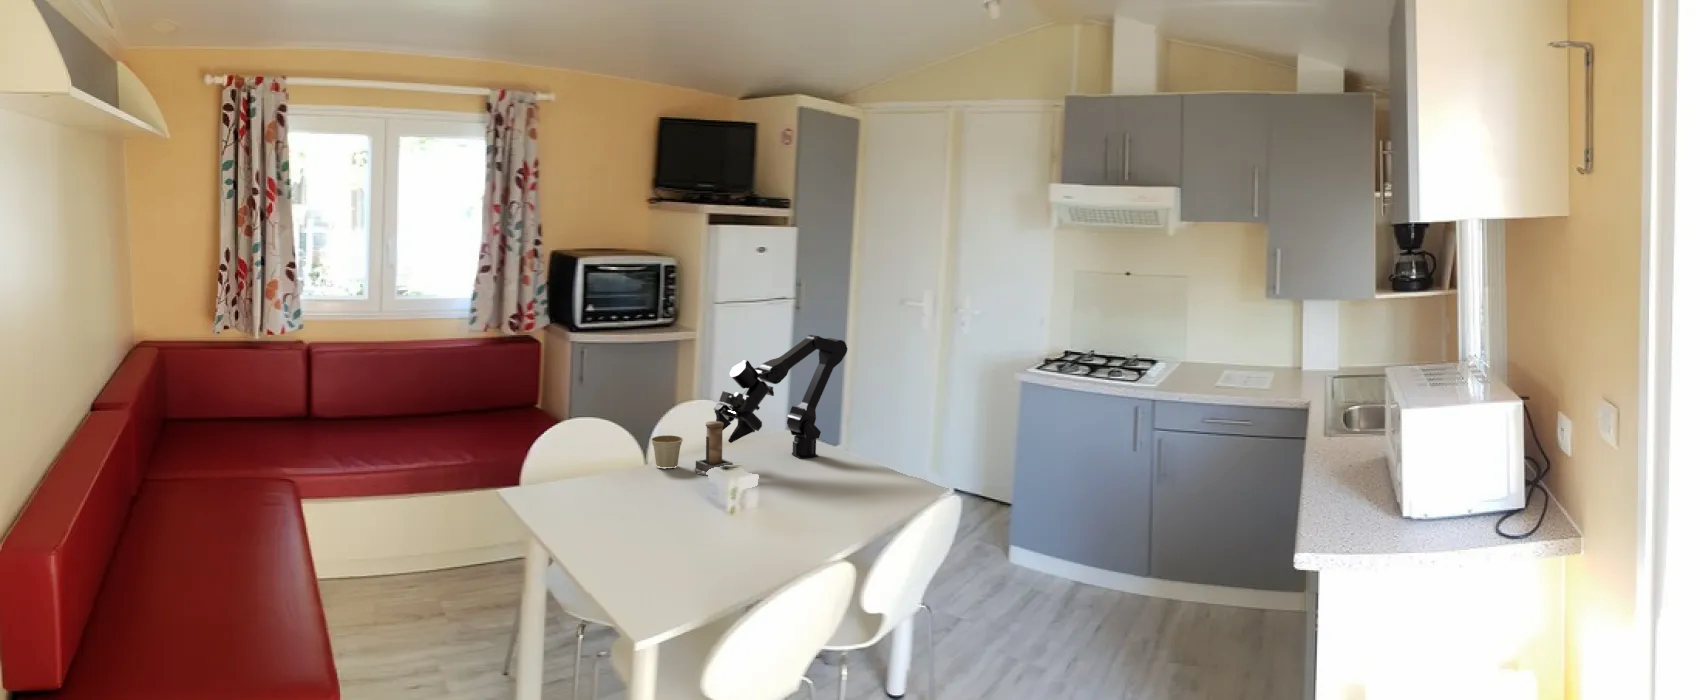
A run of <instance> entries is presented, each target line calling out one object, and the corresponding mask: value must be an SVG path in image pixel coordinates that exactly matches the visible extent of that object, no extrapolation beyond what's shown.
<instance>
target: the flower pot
mask: <svg viewBox="0 0 1700 700" xmlns="http://www.w3.org/2000/svg"><path fill="white" fill-rule="evenodd" d="M650 441H651V442H652V446H653V450H654V451H653V452H654V457H655V465H657V466H660V467H675V466H677V465H678V464H679V460H680V459H679V456H680V451H681V446H682V442H683V441H684V438H683V437H681V436H679V435H673V434H671V435H670V434H667V435H665V434H664V435H657V436H653V437H652V438H650ZM657 466H656V467H657ZM677 467H678V466H677Z"/></svg>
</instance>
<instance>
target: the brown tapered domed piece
mask: <svg viewBox="0 0 1700 700" xmlns="http://www.w3.org/2000/svg"><path fill="white" fill-rule="evenodd" d="M723 426H724V423H723V422H719V421H716V420H713V421H707V422H705V427H706V436H705V441H706V442H705V459H706V464H708V465H717V464H722V459H723V431H722V429H723Z"/></svg>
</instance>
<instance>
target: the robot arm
mask: <svg viewBox="0 0 1700 700" xmlns="http://www.w3.org/2000/svg"><path fill="white" fill-rule="evenodd" d="M847 346H848V345H847V343H846V342H845V340H842V339H838V338H832V337H827V338H824V337H821V336H820V335H817V334H808V335H807V336H806V337H805V338H804V339H803V340H801V341H800V342H798V343H797V344H796V345H795V346H793V347H792V348H790V349H789V350H788V351H786V352H784V353H783V355H781V356H779V357H776V358H773V359H769V360H767V361H765V362H763V363H761V364H760V365H759V366H758V367H753V366H752V364H751V362H750V361H749V360H747V359H743V360H741V362H739V363H737V364H735V365H734V366H732V368H730V371H729V376H730V377H731V379H732V380H733V381H734V382H735V383H737V385H738V386H739V387H740V388H741V389H746V390H745V391H744V392H743V393H740V392H737V391H736V392H735V393H732V392H731V393H730V392H728V391H724V390H722V393H721V394H720V397H719V399H718V400H719V402H720V403H719V402H717V403H716V404H715V406H714V407H713V411H714V414H715V417H716V419H715V421H719V422H723V423H724V426H723V429H722V432H723V431H724V430H726V428H728V427H730V425H732V422H734V421H735V420H737V426H736V427H735V428H734V430H733V432H732V433H731V435H730V436H729V438H728V440H727V441H728V443H730V444H732V443H734V442H736V441H738V440H740V439H741V438H743V437H746V436H747V435H750V434H751V433H755V432H756V431H757V432H759V431H760V430H761V428H762V427H763V422H762V420H761V419H760V418H759V417H758V416H757V415H756V414H754V412H755V411H759V410H760V409H761V407H760V406H759V405H760V404H761V402H762V401H763V400H764V398H765V397H766V396H770V397H771V396H772V397H774V396H775V392H774V387H773V386H771V385H768V384H767V383H769V384H774V385H778V384H780V383H781V382H782V381H783V380H784V379H785V378H786V377H787V376H788V374H789V371H790V370H791V369H792V368H793V367H794V366H796V365H797V364H799V363H800V362H801V361H803V359H805V358H807V357H808V356H809V355H811V354H812V353H813V352H815V351H816V350H818V360H819V362H818V364H817V366H816V369H815V371H814V373H813V376H812V378H811V380H810V382H809V384H808V386H807V389H806V391H805V393H804V395H803V398H802V400H801V402H800V403H799V404H798V405H797V406H796V405H792V406H791V407H790V411H789V414H787V416H786V418H787V420H786V424H787V428H788V430H790V433H791V434H790V435H792V436H793V441H792V452H791V455H792V456H794V457H797V458H799V459H805V458H806V459H809V458H817V457H819V454H818V453H817V439H820V436H821V433H822V432H821V430H820V429H819V428H818V427H817V426H816V425H815V423H816V420H817V415H816V409H817V406H818V404H819V402H820V400H821V397H822V395H823V393H824V391H825V390H826V389H825V388H826V386H827V384H828V382H829V380H830V377H831V374H832V373H833V370H834V368H835V367H836V366H838V365H839V364H841V362H842V361H843V359H844V358H845V357H846V354H847V353H848V347H847Z"/></svg>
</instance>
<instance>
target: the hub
mask: <svg viewBox="0 0 1700 700" xmlns="http://www.w3.org/2000/svg"><path fill="white" fill-rule="evenodd" d="M724 465H733V462H732V461H729V460H726V459H723V458H722V464H717V465H708V464H706V458H705V459H699V460H698V459H697V460H695V467H694V469H693V471H695V472H696V473H699V474H702V475H701V476H704V475H706V472H707V471H708V470H709V469H711V468H714V467H720V466H724ZM733 466H734V465H733ZM695 472H694V473H695ZM696 473H695V474H696ZM699 474H698V475H699Z"/></svg>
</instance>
